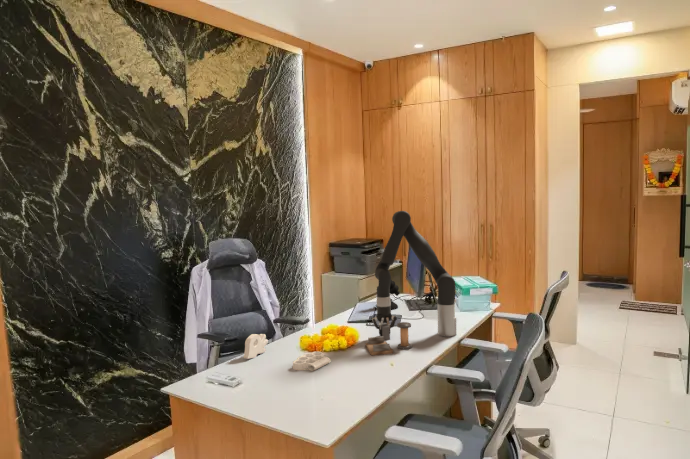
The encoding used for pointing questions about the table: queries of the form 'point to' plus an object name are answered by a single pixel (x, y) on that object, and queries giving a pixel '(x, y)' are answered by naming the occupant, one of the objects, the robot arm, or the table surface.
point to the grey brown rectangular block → (385, 331)
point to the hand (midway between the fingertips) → (384, 335)
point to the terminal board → (378, 346)
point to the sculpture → (395, 291)
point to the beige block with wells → (310, 361)
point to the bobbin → (404, 335)
